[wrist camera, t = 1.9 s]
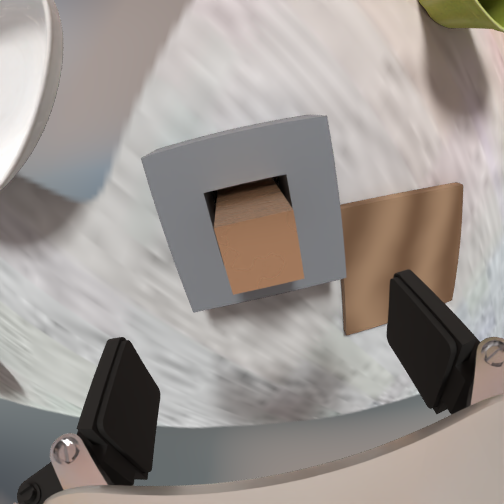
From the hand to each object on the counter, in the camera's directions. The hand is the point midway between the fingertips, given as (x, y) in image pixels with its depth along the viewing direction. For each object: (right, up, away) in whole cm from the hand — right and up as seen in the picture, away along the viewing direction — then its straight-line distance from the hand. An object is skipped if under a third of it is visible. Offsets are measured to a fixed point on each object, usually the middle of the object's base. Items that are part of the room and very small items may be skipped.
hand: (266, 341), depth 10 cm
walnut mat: (+15, +2, +18) cm, 24 cm away
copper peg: (-1, +7, +15) cm, 16 cm away
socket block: (-1, +7, +15) cm, 16 cm away
